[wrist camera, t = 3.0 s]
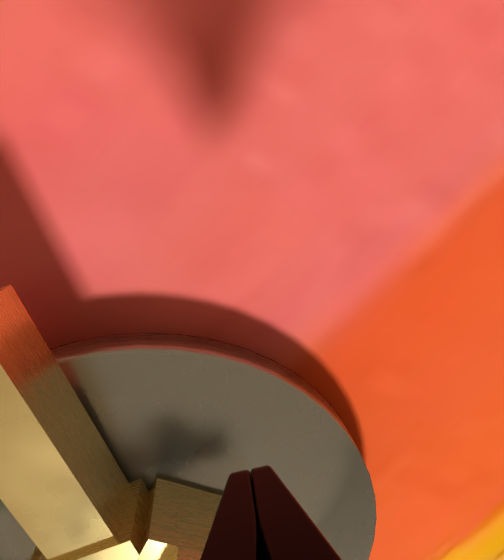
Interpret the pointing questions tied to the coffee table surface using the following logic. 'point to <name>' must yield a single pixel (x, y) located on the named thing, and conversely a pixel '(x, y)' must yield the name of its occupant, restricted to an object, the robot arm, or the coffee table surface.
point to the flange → (215, 428)
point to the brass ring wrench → (79, 467)
